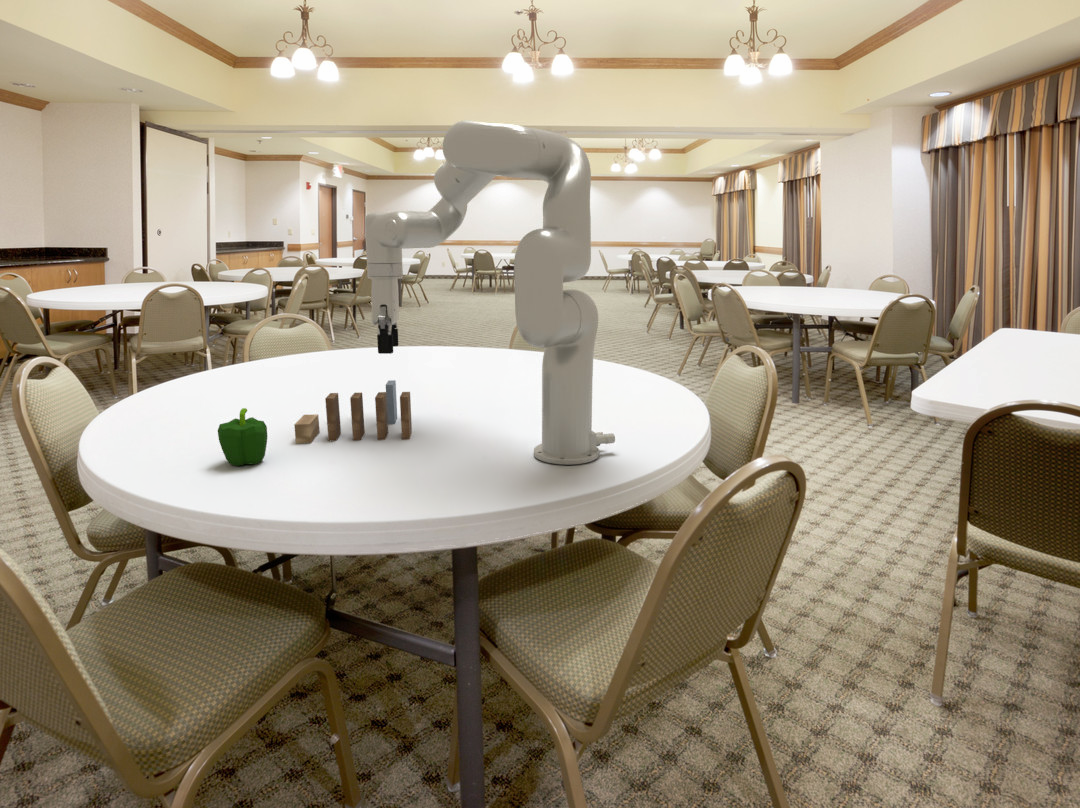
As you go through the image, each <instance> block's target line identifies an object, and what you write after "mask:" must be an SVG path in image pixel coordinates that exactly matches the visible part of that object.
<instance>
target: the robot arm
mask: <svg viewBox="0 0 1080 808" xmlns="http://www.w3.org/2000/svg"><path fill="white" fill-rule="evenodd" d="M441 148H442V154H443V156H444V159H445V161H444V162H443V163H442V164H441V165H440V166H439V168H437V170H436V171H435V174H434V175H433V180H434V185H435V188H436V191H438V193H439V195H440V196H441V199H439V201H437V202H436V203H435V205H434V206H432V207H431V208H430V209H429V210H428V211H413V210H412V211H411V210H409V211H408V210H405V211H404V210H399V211H398V210H397V211H391V212H370V213H367V214H366V215H365V217H364V231H365V233H364V234H365V250H366V251H365V252H366V271H367V279H369V280H371V324H372V325H374V326H376V325H377V353H378V354H381V355H382V354H385V355H387V354H390V355H391V354H393V353H394V347H398V346H399V328H398V323H397V322H398V320H399V316H400V306H399V305H400V303H399V302H400V300H399V298H400V297H399V280H400V279H403V278H404V273H403V272H404V271H403V269H404V268H403V250H404V249H405V250H407V249H409V250H410V249H431V248H434V247H437V246H440V245H441V244H442V243H444V242H445V241H446V240H448V239H449V238H450V237H451V236H452V235H453V234H454V233H455V232H456V231H457V230H459V228H460V227H461V226H462V224H463V222H464V220H465V218H466V214H467V211H468V204H469V203H470V202H471V201H472V200H473V199H474V198H475V197H476V196H477V195H478V194H479V193H480V192H481V191H482V190H483V189H485V188H486V186H487V185H488V184H490V183H491V182H492V181H493V180H494V179H495V178H496V177H497V176H500V177H506V178H513V179H523V180H525V179H526V180H534V181H535V180H537V181H544V182H546V183H547V184H548V185H547V188H546V191H545V193H544V198H543V202H542V228H537V229H534V230H531V231H530V232H529V231H528V233H526V234H524V236H523V237H522V238H521V239H520V241H519V243H518V245H517V247H516V250H515V253H514V260H513V261H514V262H513V274H514V276H513V277H514V280H513V281H514V307H515V309H514V310H515V311H514V312H515V322H516V327H517V331H518V332H519V334H520V336H521V338H522V340H523V341H524V342H525V343H527V344H528V345H529V346H530V347H531V346H532V347H534V348H537V349H544V352H543V355H542V357H543V358H542V364H541V367H542V368H541V443H539V444H538V445H536V446H535V447H534V449H533V456H534V457H535V458H536V459H538V460H539V461H541V462H545V463H547V464H552V465H553V464H554V465H567V466H568V465H570V466H571V465H581V464H587V463H590V462H593V461H596V460H597V459H598V458H599V456H600V449H599V447H600V446H601V445H603V444H605V445H608V444H609V445H610V444H614V443H615V442H616V436H615V434H614V433H613V432H612V433H603V432H602V431H600V432H598V431H597V432H595V431H593V429H592V428H593V427H592V426H593V425H592V422H593V418H592V417H593V380H594V379H593V378H594V375H593V374H594V356H595V354H594V352H595V346H596V345H595V344H596V340H597V334H598V333H597V332H598V326H599V312H598V307H597V305H596V303H595V301H594V300H593V299H592V297H591V296H590V295H588V294H587V292H586V293H585V292H584V291H581V290H578V289H564V284H565V283H571V282H575V281H578V280H580V279H582V278H583V277H585V276H586V275H587V274H588V272H589V270H590V267H591V262H592V244H591V243H592V242H591V241H592V240H591V239H592V237H591V232H592V231H591V227H592V225H591V224H592V222H591V218H592V217H591V185H592V183H591V182H592V174H591V173H592V171H591V163H590V161H589V158H588V155H587V153H586V152H585V150H584V149H583V148H582V146H581V145H580V144H579V143H577V142H576V141H574V140H573V139H571V138H569V137H567V136H565V135H562V134H561V133H557V132H552V131H549V130H544V129H538V128H534V127H528V126H523V125H520V124H519V125H517V124H511V123H510V124H508V123H497V122H486V121H485V122H484V121H474V120H467V119H464V120H460V121H457V122H455V123H454V124H453V125H451V126H450V127H449V128H448V129H447V131H446V133H445V135H444V136H443V141H442V147H441Z"/></svg>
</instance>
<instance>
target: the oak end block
mask: <svg viewBox="0 0 1080 808" xmlns="http://www.w3.org/2000/svg"><path fill="white" fill-rule="evenodd" d="M319 420H320V419H319V413H318V414H317V413H316V414H303V415H302V416H301V417H300V418H299V419H298V420H297V421H296V422H295V424H294V433H295V434H294V436H295V444H312V443H313V441H314V440H315V439H316V438H317V436H318V435H319V434H320V432H321V431H320V430H321V429H320V421H319ZM315 437H316V438H315Z"/></svg>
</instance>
